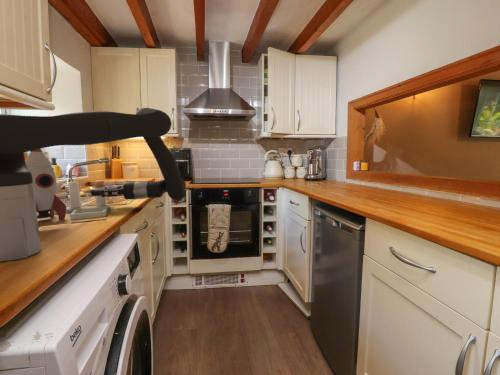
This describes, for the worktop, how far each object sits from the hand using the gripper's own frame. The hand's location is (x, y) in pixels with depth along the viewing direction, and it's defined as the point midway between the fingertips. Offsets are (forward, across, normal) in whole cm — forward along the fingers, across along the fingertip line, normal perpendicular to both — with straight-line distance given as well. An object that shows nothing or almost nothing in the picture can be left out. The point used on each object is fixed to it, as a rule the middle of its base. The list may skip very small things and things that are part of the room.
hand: (95, 191), depth 111 cm
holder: (+7, +2, +9) cm, 12 cm away
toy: (+12, +16, +9) cm, 21 cm away
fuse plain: (+7, +2, +8) cm, 11 cm away
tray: (-1, +10, +9) cm, 13 cm away
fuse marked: (-2, 0, +8) cm, 8 cm away
